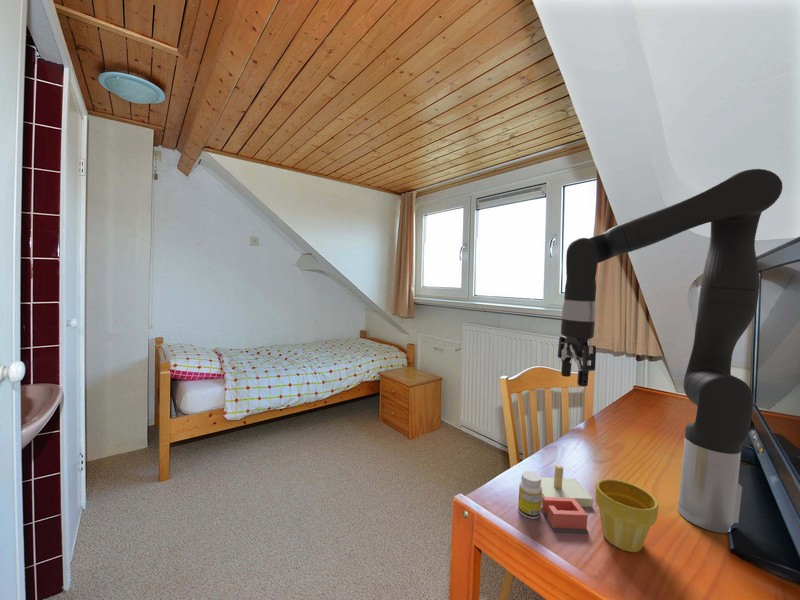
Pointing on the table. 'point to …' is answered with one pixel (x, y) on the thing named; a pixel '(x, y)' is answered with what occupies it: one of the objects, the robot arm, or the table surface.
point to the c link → (564, 513)
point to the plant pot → (625, 513)
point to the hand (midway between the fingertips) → (573, 380)
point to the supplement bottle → (530, 495)
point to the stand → (565, 488)
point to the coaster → (567, 530)
